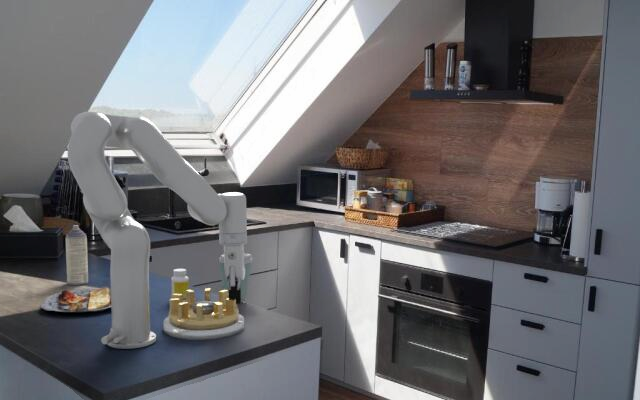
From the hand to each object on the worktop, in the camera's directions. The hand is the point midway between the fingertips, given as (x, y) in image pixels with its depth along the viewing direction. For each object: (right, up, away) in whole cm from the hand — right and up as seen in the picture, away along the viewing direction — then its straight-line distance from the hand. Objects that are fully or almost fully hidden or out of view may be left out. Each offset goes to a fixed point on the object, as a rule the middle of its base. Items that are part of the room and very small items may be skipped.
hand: (234, 303), depth 198 cm
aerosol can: (-60, 0, +48) cm, 77 cm away
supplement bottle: (-20, -3, +28) cm, 35 cm away
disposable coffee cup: (-3, -3, +28) cm, 29 cm away
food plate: (-49, -4, +21) cm, 53 cm away
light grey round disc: (-9, -7, +1) cm, 11 cm away
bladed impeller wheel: (-9, -5, 0) cm, 10 cm away
